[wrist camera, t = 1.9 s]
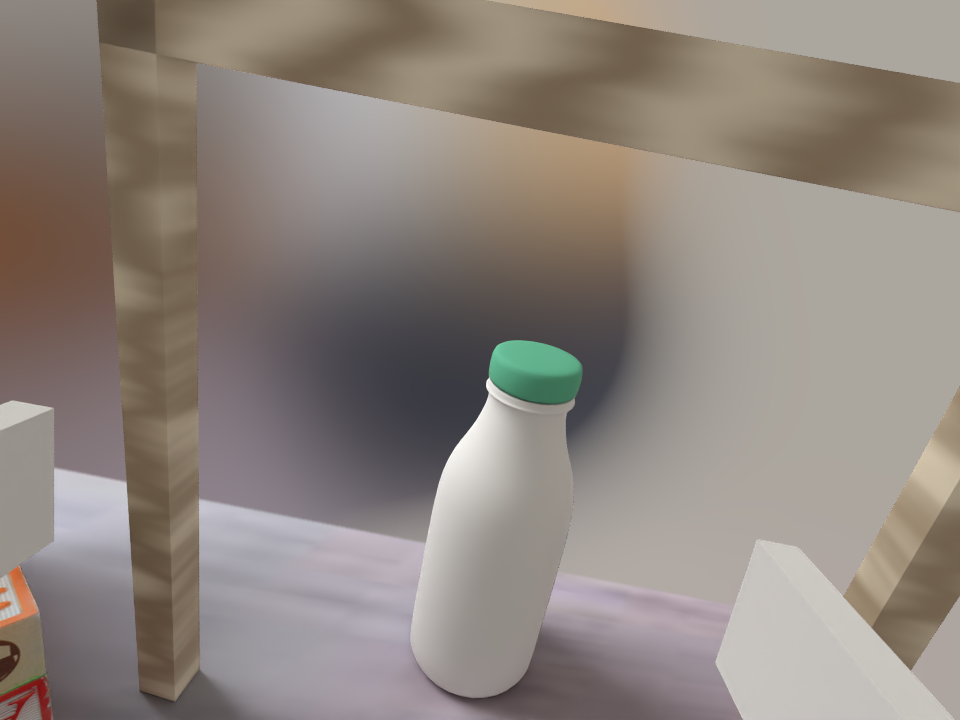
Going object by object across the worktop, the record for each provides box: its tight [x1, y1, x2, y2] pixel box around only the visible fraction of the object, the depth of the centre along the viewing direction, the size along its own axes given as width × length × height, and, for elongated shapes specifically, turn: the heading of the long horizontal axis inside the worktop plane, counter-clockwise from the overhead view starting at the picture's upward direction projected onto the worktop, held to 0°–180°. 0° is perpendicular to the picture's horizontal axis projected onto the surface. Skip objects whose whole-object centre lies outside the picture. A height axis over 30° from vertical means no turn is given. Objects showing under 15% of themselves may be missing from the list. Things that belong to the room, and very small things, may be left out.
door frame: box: [97, 0, 960, 701], centre depth 23 cm, size 32×2×33 cm, turn 80°
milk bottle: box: [410, 341, 582, 698], centre depth 32 cm, size 8×8×20 cm
